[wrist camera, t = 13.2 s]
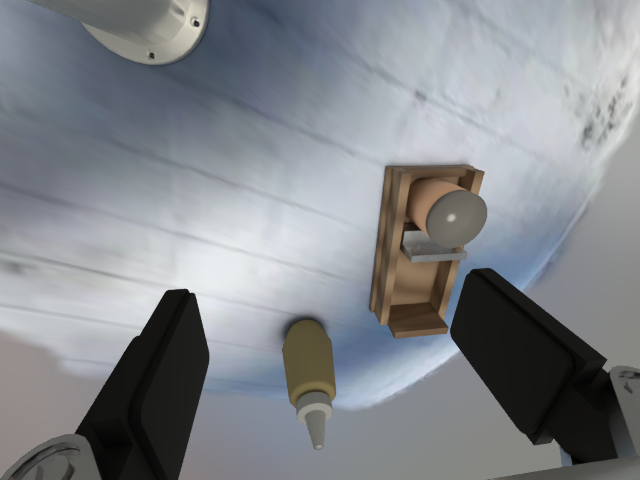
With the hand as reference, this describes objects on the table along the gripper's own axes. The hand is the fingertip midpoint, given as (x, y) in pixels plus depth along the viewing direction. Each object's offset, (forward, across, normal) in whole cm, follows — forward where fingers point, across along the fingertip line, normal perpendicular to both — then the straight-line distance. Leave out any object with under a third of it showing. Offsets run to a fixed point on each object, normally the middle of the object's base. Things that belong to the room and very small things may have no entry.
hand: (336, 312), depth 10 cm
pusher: (+27, -18, +10) cm, 34 cm away
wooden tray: (+28, -18, +13) cm, 36 cm away
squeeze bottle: (+28, -1, +29) cm, 41 cm away
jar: (+27, -18, +6) cm, 33 cm away
